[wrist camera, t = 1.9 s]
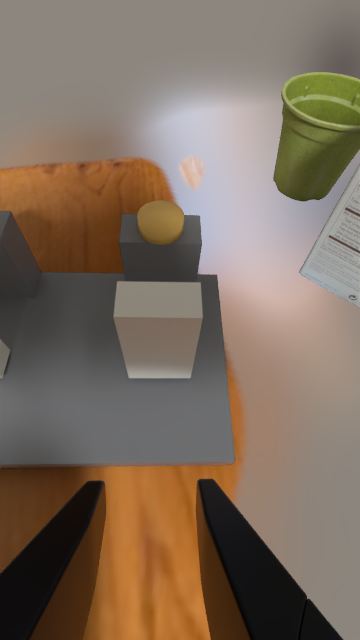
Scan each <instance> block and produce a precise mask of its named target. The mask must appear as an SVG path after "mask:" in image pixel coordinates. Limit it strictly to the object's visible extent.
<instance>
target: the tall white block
mask: <svg viewBox="0 0 360 640" xmlns="http://www.w3.org/2000/svg"><path fill="white" fill-rule="evenodd" d="M113 317H114V321H115V325H116V329H117V333H118V337H119V341H120V345H121V349H122V353H123V357H124V361H125V365H126V369H127V373H128V377H129V378H191V373H192V368H193V364H194V359H195V354H196V349H197V344H198V339H199V334H200V329H201V325H202V320H203V312H202V296H201V282H130V281H117V287H116V297H115V307H114V316H113Z"/></svg>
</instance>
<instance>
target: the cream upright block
mask: <svg viewBox="0 0 360 640" xmlns="http://www.w3.org/2000/svg"><path fill="white" fill-rule="evenodd" d="M9 353H10V349H9V348H8V347H7V346H6V345H5V344H4V343H3V341H2V340H1V339H0V378H3V374H4V371H5V367H6V364H7V360H8V357H9Z"/></svg>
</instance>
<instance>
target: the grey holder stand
mask: <svg viewBox="0 0 360 640" xmlns="http://www.w3.org/2000/svg"><path fill="white" fill-rule="evenodd" d="M119 245H120V251H121V257H122V263H123V269H124V273H68V272H41V270H40V268H39V266H38V264H37V262H36V260H35V258H34V256H33V254H32V252H31V250H30V248H29V247H28V245H27V243H26V241H25V239H24V237H23V235H22V233H21V231H20V229H19V227H18V225H17V223H16V221H15V219H14V217H13V215H12V213H11V211H0V339H1V340H2V341H3V343H4V344H5V345H6V346H7V347H8V348H9V349H10V353H9V357H8V360H7V364H6V367H5V371H4V374H3V378H0V468H27V467H102V466H176V465H231V464H232V463H234V462H235V454H234V443H233V433H232V423H231V413H230V403H229V392H228V382H227V372H226V362H225V352H224V341H223V331H222V321H221V311H220V301H219V290H218V280H217V275H199V274H197V273H198V266H199V259H200V253H201V246H202V240H201V226H200V216H194V215H184V213H183V211H182V209H181V208H180V207H179V206H178V205H176V204H174V203H172V202H169V201H164V200H156V201H151V202H148V203H146V204H145V205H143V206H142V207H141V208H140V209H139V211H138V214H122V220H121V229H120V238H119ZM117 281H130V282H201V296H202V312H203V320H202V325H201V329H200V334H199V339H198V344H197V349H196V354H195V359H194V364H193V368H192V373H191V378H129V377H128V373H127V369H126V365H125V361H124V357H123V353H122V349H121V345H120V341H119V337H118V333H117V329H116V325H115V321H114V317H113V316H114V307H115V297H116V287H117Z"/></svg>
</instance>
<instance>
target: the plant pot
mask: <svg viewBox="0 0 360 640" xmlns="http://www.w3.org/2000/svg"><path fill="white" fill-rule="evenodd" d="M281 96H282V100H283V103H284V105H283V112H282V114H283V124H282V131H281V137H280V143H279V149H278V154H277V160H276V166H275V172H274V181H275V183H276V185H277V188H278V190H279V191H280V192H281V193H283V194H284V195H286V196H287V197H290V198H292V199H295V200H299V201H307V200H311V199H316V200H320V199H322V198H324V197H325V196H326V195H327V194H328V193H329V191H330V190H331V188H332V187H333V186H334V184H335V183H336V181H337V180H338V178H339V177H340V176H341V174H342V173H343V171H344V170H345V169H346V167H347V166H348V164H349V163H350V162H351V160H352V159H353V158H354V156H355V155H356V153H357V152H358V151H359V149H360V79H357V78H354V77H350V76H346V75H341V74H335V73H327V72H313V73H306V74H302V75H298V76H295V77H293V78H291V79H289V80H288V81H287V82H286V83H285V84H284V86H283V88H282V95H281Z"/></svg>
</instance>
